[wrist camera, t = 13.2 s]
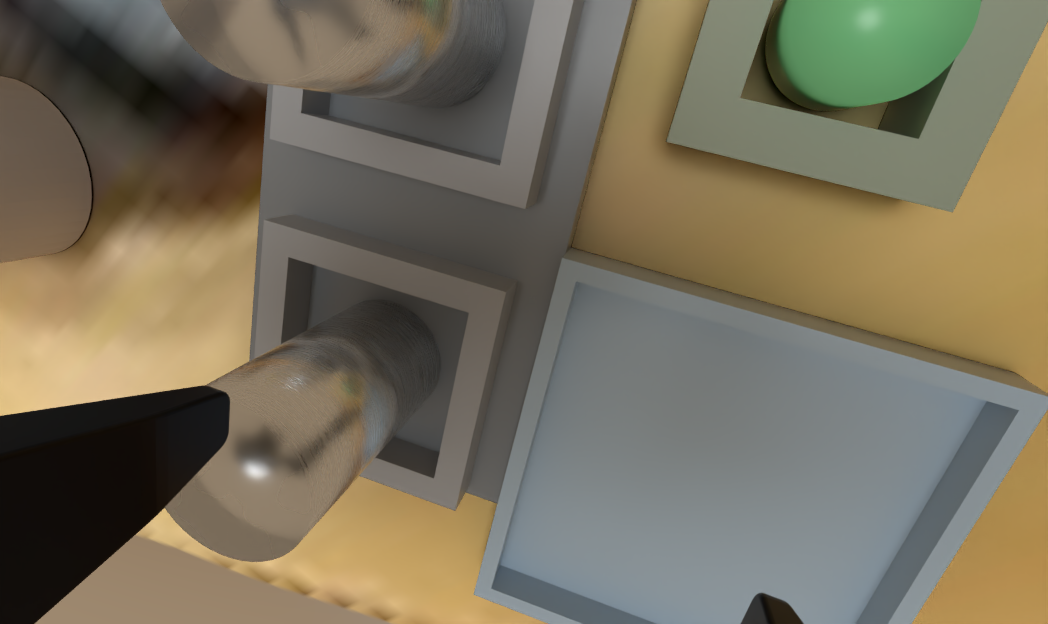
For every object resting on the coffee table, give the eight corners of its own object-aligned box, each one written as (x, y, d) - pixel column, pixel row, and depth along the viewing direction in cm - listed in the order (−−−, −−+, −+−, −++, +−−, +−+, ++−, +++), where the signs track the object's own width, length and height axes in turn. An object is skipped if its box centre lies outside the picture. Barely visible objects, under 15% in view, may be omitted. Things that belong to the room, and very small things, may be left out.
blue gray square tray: (1015, 372, 17) (1054, 398, 15) (826, 690, 22) (839, 736, 20) (570, 247, 19) (561, 257, 17) (487, 562, 24) (473, 594, 22)
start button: (945, -26, 14) (1017, -68, 11) (880, 125, 15) (930, 121, 12) (795, -54, 14) (829, -101, 11) (745, 94, 15) (763, 83, 13)
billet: (450, 320, 19) (320, 433, 12) (429, 426, 21) (301, 587, 13) (337, 284, 20) (145, 371, 12) (324, 390, 21) (146, 524, 14)
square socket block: (1030, -77, 14) (1124, -132, 11) (902, 199, 16) (952, 212, 13) (747, -126, 15) (767, -187, 12) (665, 141, 17) (666, 141, 14)
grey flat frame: (662, -96, 15) (662, -142, 13) (507, 485, 22) (487, 530, 20) (310, -160, 17) (249, -212, 15) (265, 400, 24) (218, 431, 21)
